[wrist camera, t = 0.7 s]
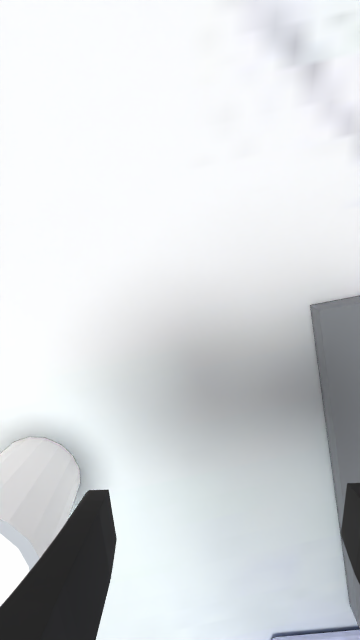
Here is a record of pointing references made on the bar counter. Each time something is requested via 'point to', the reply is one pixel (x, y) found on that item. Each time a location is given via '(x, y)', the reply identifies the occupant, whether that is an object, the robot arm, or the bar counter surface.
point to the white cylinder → (32, 504)
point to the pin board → (341, 403)
